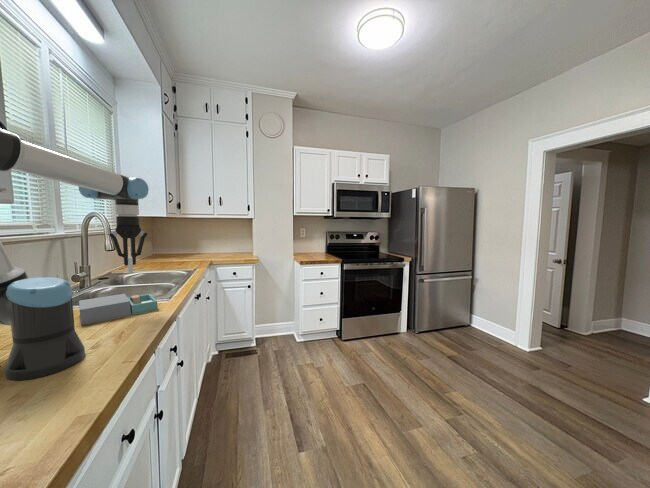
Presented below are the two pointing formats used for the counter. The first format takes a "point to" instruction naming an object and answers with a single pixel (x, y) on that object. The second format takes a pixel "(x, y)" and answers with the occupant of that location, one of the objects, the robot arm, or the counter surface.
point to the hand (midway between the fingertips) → (130, 272)
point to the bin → (143, 304)
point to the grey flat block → (104, 308)
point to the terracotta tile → (135, 299)
